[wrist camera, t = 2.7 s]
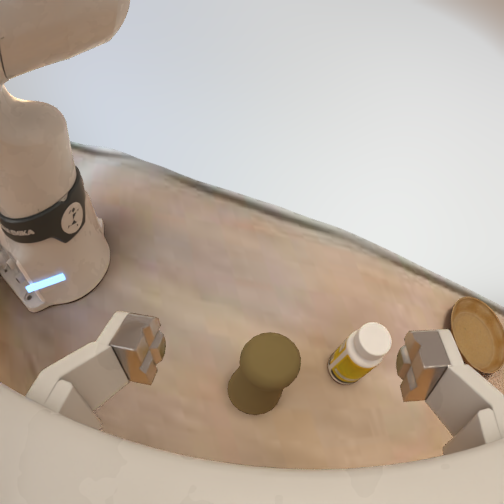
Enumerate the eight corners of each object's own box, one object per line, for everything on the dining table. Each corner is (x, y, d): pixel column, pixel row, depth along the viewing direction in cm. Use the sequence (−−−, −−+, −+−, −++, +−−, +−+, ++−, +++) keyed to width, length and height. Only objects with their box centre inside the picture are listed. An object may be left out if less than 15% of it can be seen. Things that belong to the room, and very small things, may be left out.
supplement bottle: (364, 382, 33) (399, 356, 27) (330, 387, 32) (361, 362, 26) (357, 349, 36) (388, 317, 30) (324, 351, 36) (351, 319, 29)
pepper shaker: (220, 373, 32) (226, 331, 24) (269, 359, 34) (293, 314, 26) (237, 421, 29) (252, 399, 20) (288, 404, 30) (322, 375, 22)
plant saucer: (433, 352, 37) (444, 345, 35) (450, 290, 45) (458, 282, 43) (491, 393, 32) (502, 387, 30) (500, 329, 41) (509, 322, 39)
